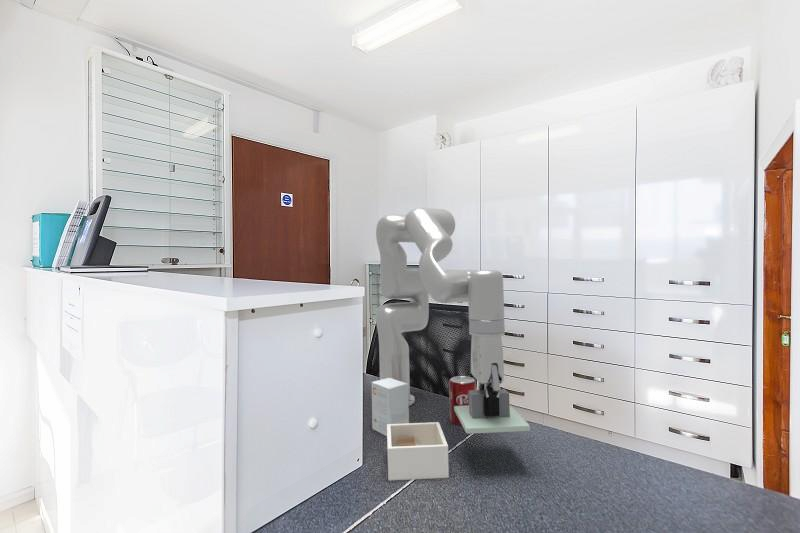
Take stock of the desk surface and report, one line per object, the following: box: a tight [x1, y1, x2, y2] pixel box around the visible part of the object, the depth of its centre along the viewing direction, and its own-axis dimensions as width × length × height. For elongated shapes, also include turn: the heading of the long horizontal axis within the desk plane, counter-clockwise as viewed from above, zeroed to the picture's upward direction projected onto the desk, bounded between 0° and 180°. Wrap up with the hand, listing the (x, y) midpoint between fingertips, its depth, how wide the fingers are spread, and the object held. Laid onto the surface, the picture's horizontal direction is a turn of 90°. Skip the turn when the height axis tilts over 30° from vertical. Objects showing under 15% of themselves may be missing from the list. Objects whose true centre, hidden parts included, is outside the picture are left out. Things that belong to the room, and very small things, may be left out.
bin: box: [386, 421, 450, 481], centre depth 81 cm, size 12×12×7 cm
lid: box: [454, 388, 531, 435], centre depth 82 cm, size 13×13×6 cm
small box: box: [371, 378, 410, 437], centre depth 99 cm, size 8×6×13 cm
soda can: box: [448, 375, 477, 427], centre depth 104 cm, size 7×7×12 cm
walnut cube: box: [396, 437, 416, 446], centre depth 83 cm, size 4×4×4 cm
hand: (489, 411), depth 82 cm, fingers closed on lid, 3 cm apart
